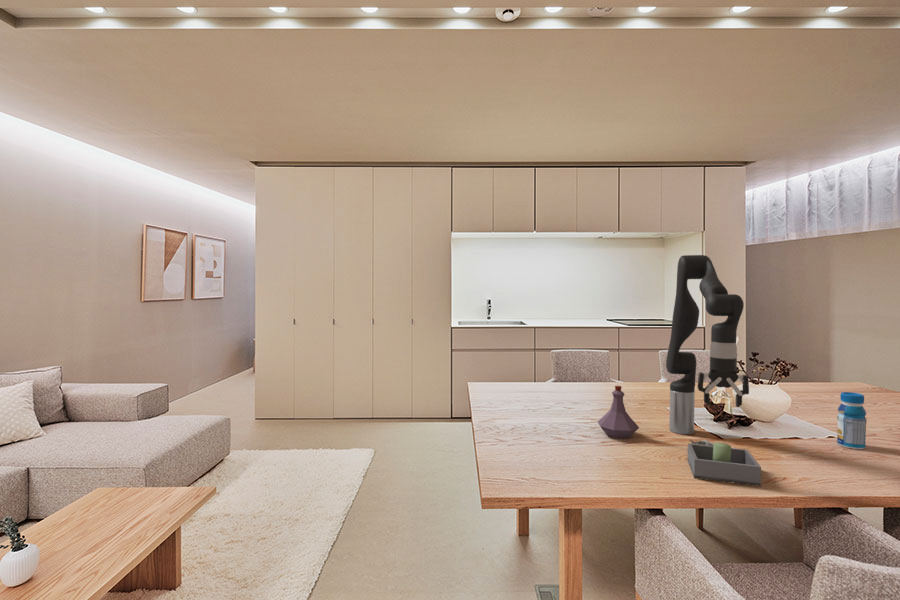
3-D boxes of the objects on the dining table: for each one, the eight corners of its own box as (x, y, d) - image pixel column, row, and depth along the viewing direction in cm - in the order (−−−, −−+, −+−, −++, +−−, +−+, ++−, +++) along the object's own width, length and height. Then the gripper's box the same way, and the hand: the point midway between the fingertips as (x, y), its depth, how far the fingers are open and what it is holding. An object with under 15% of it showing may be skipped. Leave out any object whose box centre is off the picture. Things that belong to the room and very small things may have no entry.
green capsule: (711, 465, 154) (712, 441, 154) (728, 467, 153) (729, 443, 152) (713, 471, 150) (714, 446, 149) (731, 473, 148) (732, 449, 148)
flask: (601, 426, 201) (602, 380, 200) (642, 432, 192) (642, 384, 192) (592, 437, 187) (592, 388, 186) (635, 444, 178) (636, 392, 178)
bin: (687, 460, 162) (687, 443, 162) (747, 467, 156) (747, 449, 155) (694, 478, 147) (694, 459, 147) (760, 486, 141) (761, 467, 140)
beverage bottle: (855, 451, 171) (856, 397, 170) (830, 443, 179) (832, 392, 178) (871, 448, 173) (873, 395, 172) (846, 441, 181) (848, 390, 180)
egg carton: (687, 449, 173) (687, 438, 173) (702, 447, 176) (702, 436, 176) (712, 459, 163) (712, 448, 163) (728, 456, 166) (728, 445, 166)
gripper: (745, 355, 151) (744, 404, 152) (696, 353, 156) (696, 401, 157) (751, 358, 144) (750, 410, 145) (700, 356, 149) (699, 406, 150)
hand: (722, 405), depth 151 cm, fingers open, 8 cm apart
